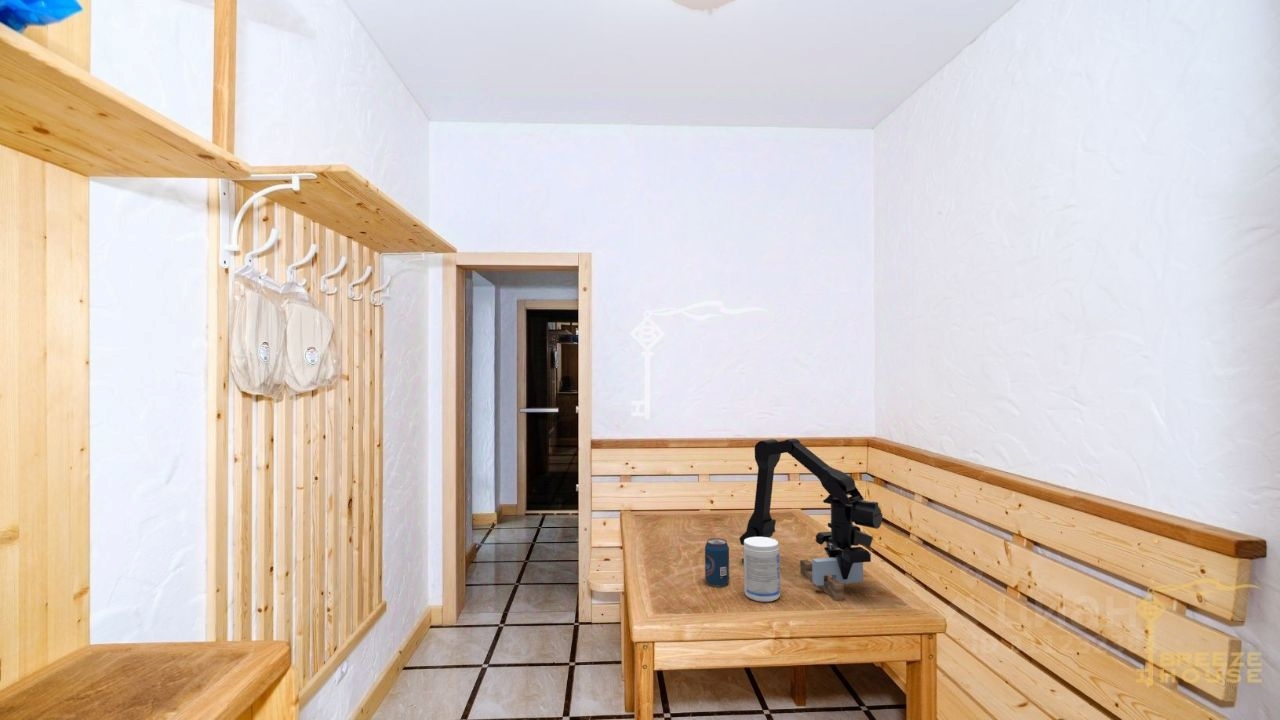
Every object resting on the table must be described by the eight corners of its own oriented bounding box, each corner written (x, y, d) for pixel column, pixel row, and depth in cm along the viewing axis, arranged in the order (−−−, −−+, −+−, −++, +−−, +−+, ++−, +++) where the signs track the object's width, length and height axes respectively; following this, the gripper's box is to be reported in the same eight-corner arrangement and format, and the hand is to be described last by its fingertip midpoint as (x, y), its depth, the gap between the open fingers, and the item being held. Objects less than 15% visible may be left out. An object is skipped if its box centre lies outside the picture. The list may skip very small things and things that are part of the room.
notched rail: (843, 599, 145) (843, 584, 145) (836, 600, 144) (835, 585, 144) (807, 572, 164) (806, 559, 164) (800, 573, 164) (800, 559, 164)
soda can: (700, 580, 159) (700, 539, 159) (721, 576, 161) (720, 536, 162) (713, 589, 152) (712, 546, 153) (734, 585, 155) (733, 542, 155)
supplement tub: (786, 601, 144) (785, 545, 144) (753, 604, 142) (752, 548, 142) (769, 587, 154) (769, 534, 154) (738, 590, 151) (737, 537, 152)
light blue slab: (816, 585, 149) (816, 561, 149) (812, 582, 151) (812, 558, 151) (863, 581, 151) (862, 558, 151) (858, 578, 153) (857, 555, 154)
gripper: (888, 528, 144) (889, 588, 144) (849, 511, 162) (849, 563, 162) (850, 531, 142) (851, 591, 142) (814, 513, 160) (815, 566, 160)
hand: (842, 577), depth 151 cm, fingers closed on light blue slab, 2 cm apart
